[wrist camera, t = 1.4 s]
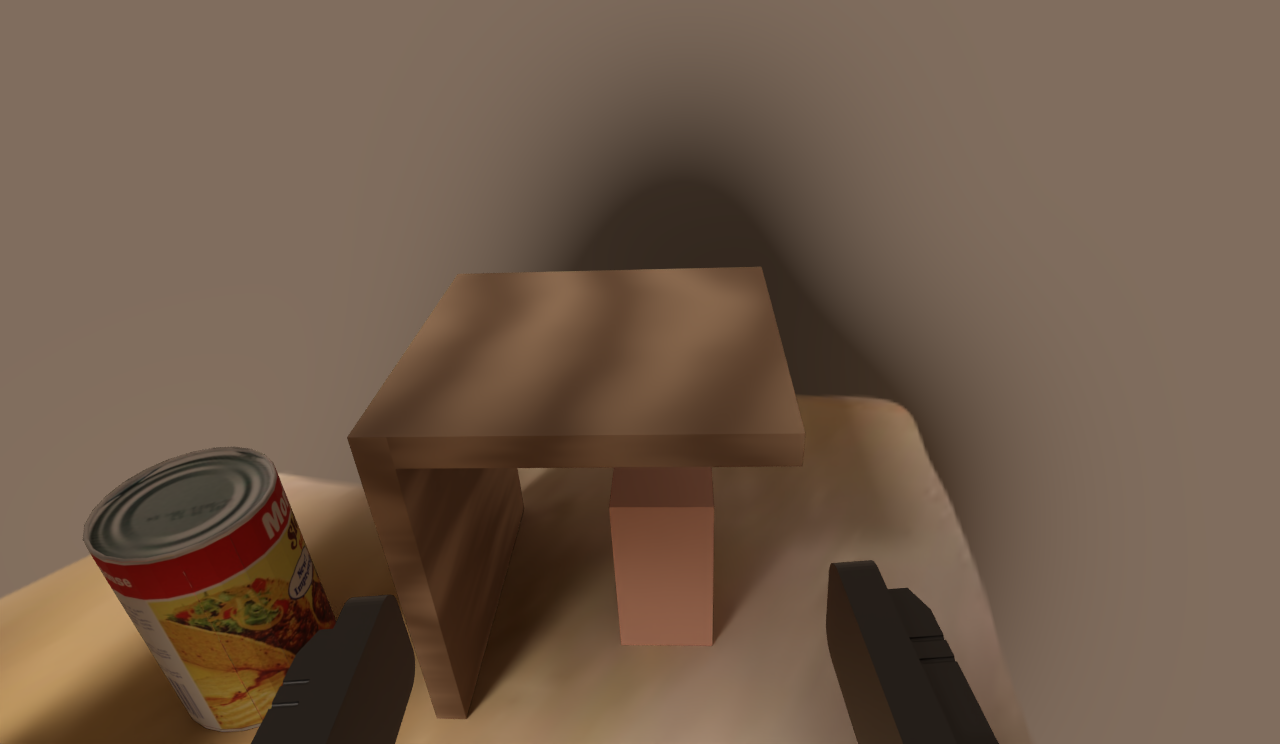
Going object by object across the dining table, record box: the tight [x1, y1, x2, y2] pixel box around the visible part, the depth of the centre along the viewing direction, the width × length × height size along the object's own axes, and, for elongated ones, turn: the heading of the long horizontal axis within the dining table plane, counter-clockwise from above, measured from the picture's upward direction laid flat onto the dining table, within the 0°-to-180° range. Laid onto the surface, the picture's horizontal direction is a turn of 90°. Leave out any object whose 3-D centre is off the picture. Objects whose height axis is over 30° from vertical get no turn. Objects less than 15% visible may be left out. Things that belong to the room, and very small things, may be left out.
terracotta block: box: [609, 467, 714, 646], centre depth 38 cm, size 5×5×10 cm
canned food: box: [83, 447, 336, 732], centre depth 35 cm, size 8×8×12 cm
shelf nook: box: [347, 267, 805, 719], centre depth 37 cm, size 17×16×18 cm
